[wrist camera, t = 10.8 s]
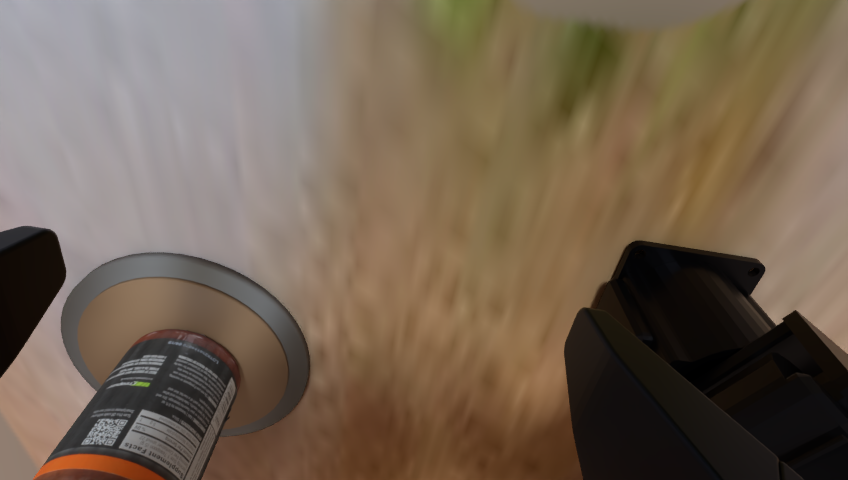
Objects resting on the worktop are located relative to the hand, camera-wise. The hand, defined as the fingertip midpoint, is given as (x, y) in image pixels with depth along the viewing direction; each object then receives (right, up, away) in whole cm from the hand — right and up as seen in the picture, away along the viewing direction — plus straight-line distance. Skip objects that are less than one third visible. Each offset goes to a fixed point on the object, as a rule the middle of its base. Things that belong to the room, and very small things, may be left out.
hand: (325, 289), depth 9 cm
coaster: (-11, -5, +19) cm, 22 cm away
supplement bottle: (-11, -6, +18) cm, 22 cm away
